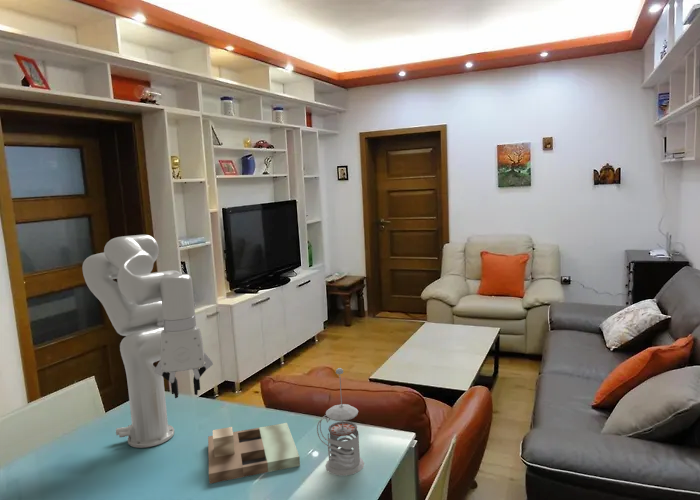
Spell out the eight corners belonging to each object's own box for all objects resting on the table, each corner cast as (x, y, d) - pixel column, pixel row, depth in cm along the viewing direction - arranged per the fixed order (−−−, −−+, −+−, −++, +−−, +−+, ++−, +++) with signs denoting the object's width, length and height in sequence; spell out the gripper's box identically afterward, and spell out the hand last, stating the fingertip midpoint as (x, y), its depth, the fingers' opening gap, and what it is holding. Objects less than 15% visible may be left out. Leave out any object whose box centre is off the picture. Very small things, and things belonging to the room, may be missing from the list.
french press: (356, 478, 120) (351, 377, 117) (312, 471, 124) (306, 373, 121) (369, 457, 129) (364, 363, 126) (327, 451, 133) (322, 359, 130)
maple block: (214, 457, 128) (213, 438, 127) (214, 448, 133) (212, 430, 132) (234, 453, 129) (233, 435, 129) (233, 444, 134) (232, 426, 134)
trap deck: (209, 483, 121) (208, 473, 120) (208, 445, 140) (208, 436, 140) (300, 465, 127) (299, 456, 126) (287, 430, 146) (286, 422, 145)
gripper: (142, 331, 119) (149, 405, 121) (215, 323, 124) (221, 394, 126) (145, 324, 126) (152, 394, 128) (214, 316, 131) (220, 384, 133)
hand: (186, 393), depth 127 cm, fingers open, 4 cm apart
